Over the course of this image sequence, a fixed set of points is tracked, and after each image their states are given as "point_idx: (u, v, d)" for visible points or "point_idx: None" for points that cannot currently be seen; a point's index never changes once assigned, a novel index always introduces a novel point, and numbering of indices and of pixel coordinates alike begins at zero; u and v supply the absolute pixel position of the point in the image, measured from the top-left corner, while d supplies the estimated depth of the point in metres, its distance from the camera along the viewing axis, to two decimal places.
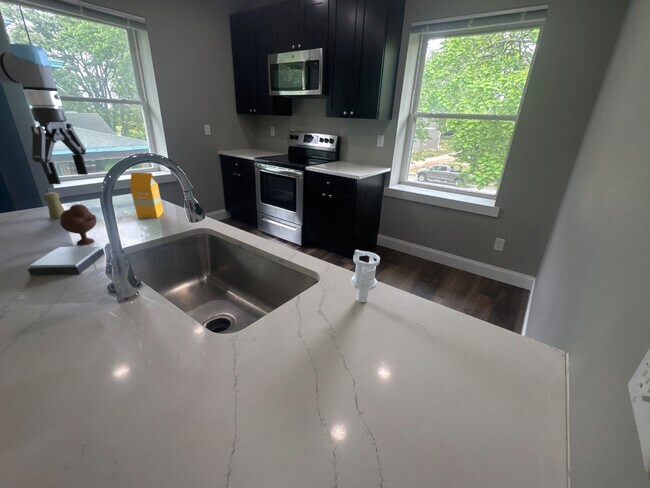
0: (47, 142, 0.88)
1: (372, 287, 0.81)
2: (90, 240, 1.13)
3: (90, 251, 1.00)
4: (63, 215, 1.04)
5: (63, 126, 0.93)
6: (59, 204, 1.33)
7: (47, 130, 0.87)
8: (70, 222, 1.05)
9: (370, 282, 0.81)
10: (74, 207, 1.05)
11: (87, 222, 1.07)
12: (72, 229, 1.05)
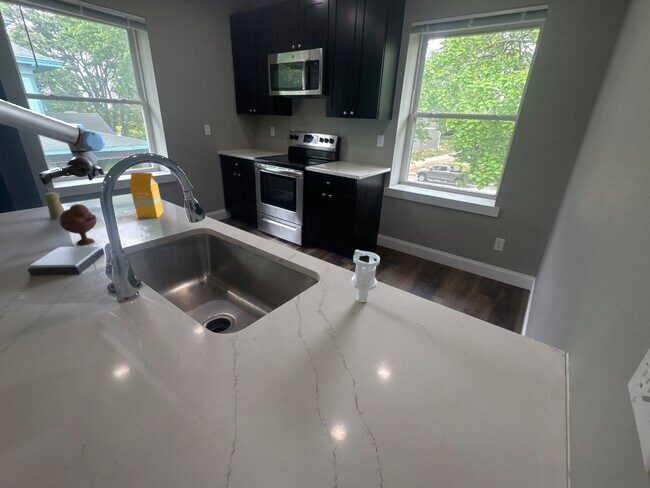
0: None
1: (372, 287, 0.81)
2: (90, 240, 1.13)
3: (90, 251, 1.00)
4: (63, 215, 1.04)
5: None
6: (59, 204, 1.33)
7: None
8: (70, 222, 1.05)
9: (370, 282, 0.81)
10: (74, 207, 1.05)
11: (87, 222, 1.07)
12: (72, 229, 1.05)
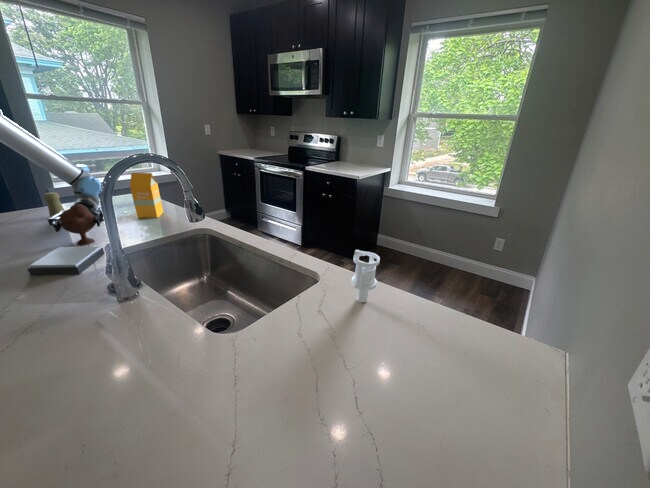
0: None
1: (372, 287, 0.81)
2: (90, 240, 1.12)
3: (90, 251, 1.00)
4: (63, 215, 1.04)
5: None
6: (59, 204, 1.33)
7: None
8: (70, 222, 1.05)
9: (370, 282, 0.81)
10: (74, 207, 1.05)
11: (87, 222, 1.07)
12: (72, 229, 1.05)
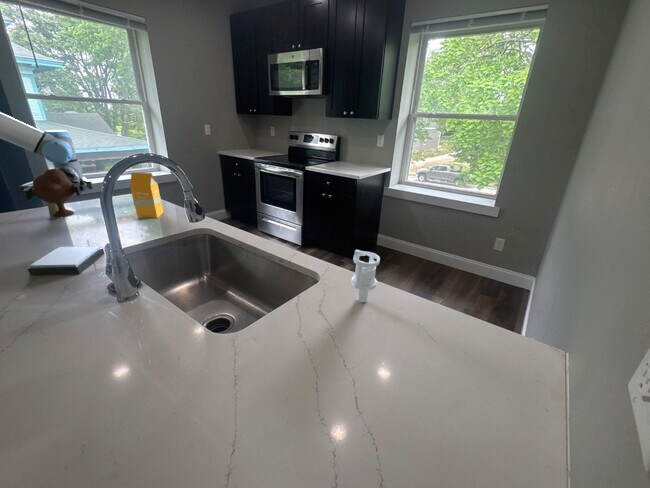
0: None
1: (372, 287, 0.81)
2: (69, 212, 0.98)
3: (90, 251, 1.00)
4: (36, 180, 0.90)
5: None
6: None
7: None
8: (44, 188, 0.90)
9: (370, 282, 0.81)
10: (49, 171, 0.91)
11: (64, 189, 0.93)
12: (47, 197, 0.91)
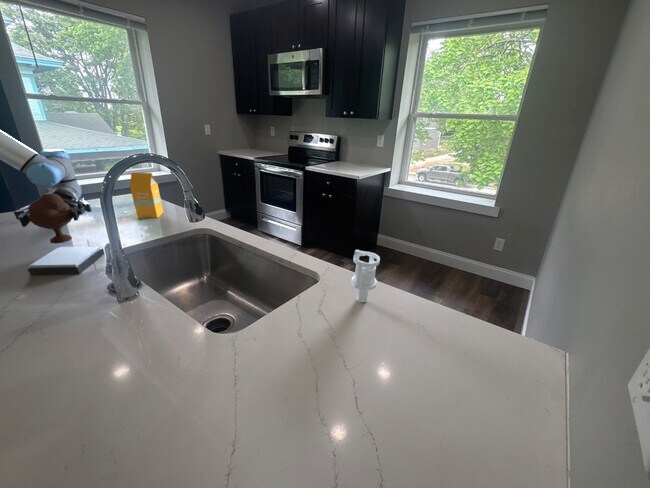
0: None
1: (372, 287, 0.81)
2: (66, 237, 0.94)
3: (90, 251, 1.00)
4: (31, 206, 0.86)
5: None
6: None
7: None
8: (40, 215, 0.86)
9: (370, 282, 0.81)
10: (45, 197, 0.87)
11: (61, 215, 0.89)
12: (43, 223, 0.87)
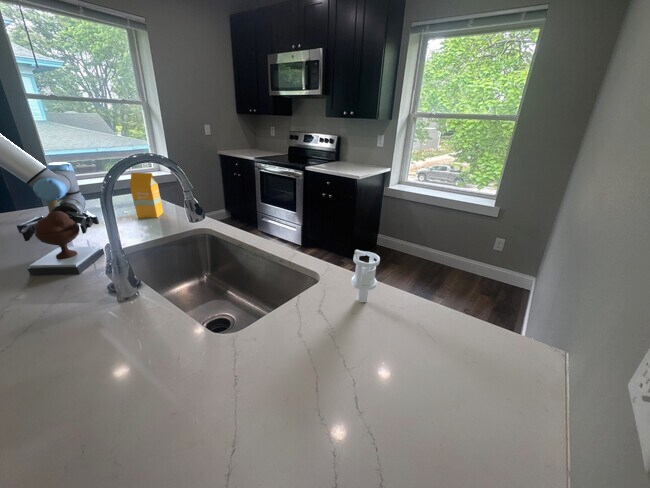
0: None
1: (372, 287, 0.81)
2: (72, 253, 0.96)
3: (90, 251, 1.00)
4: (38, 224, 0.88)
5: None
6: None
7: None
8: (47, 232, 0.88)
9: (370, 282, 0.81)
10: (52, 215, 0.89)
11: (67, 232, 0.91)
12: (49, 241, 0.89)
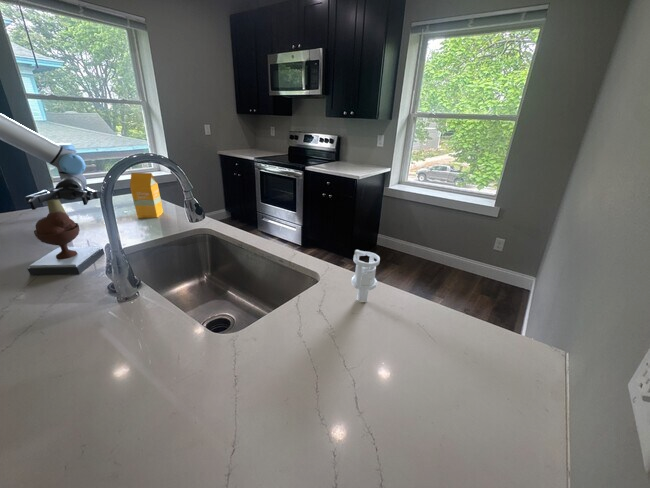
0: None
1: (372, 287, 0.81)
2: (72, 253, 0.96)
3: (90, 251, 1.00)
4: (38, 224, 0.88)
5: None
6: (59, 204, 1.33)
7: None
8: (47, 232, 0.88)
9: (370, 282, 0.81)
10: (52, 215, 0.89)
11: (67, 232, 0.91)
12: (49, 241, 0.89)
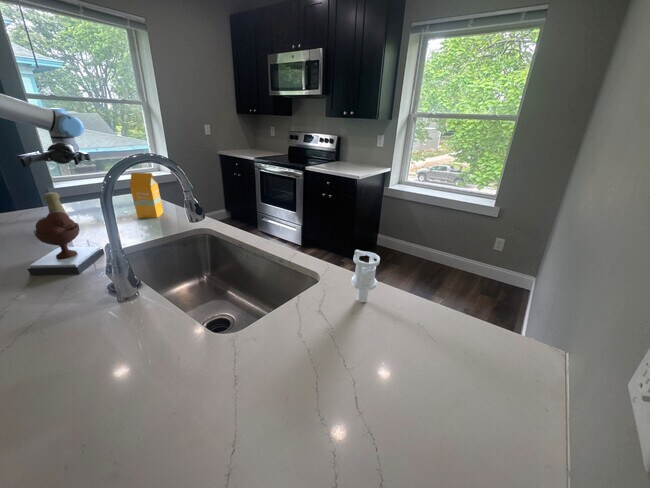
0: None
1: (372, 287, 0.81)
2: (72, 253, 0.96)
3: (90, 251, 1.00)
4: (38, 224, 0.88)
5: None
6: (59, 204, 1.33)
7: None
8: (47, 232, 0.88)
9: (370, 282, 0.81)
10: (52, 215, 0.89)
11: (67, 232, 0.91)
12: (49, 241, 0.89)
